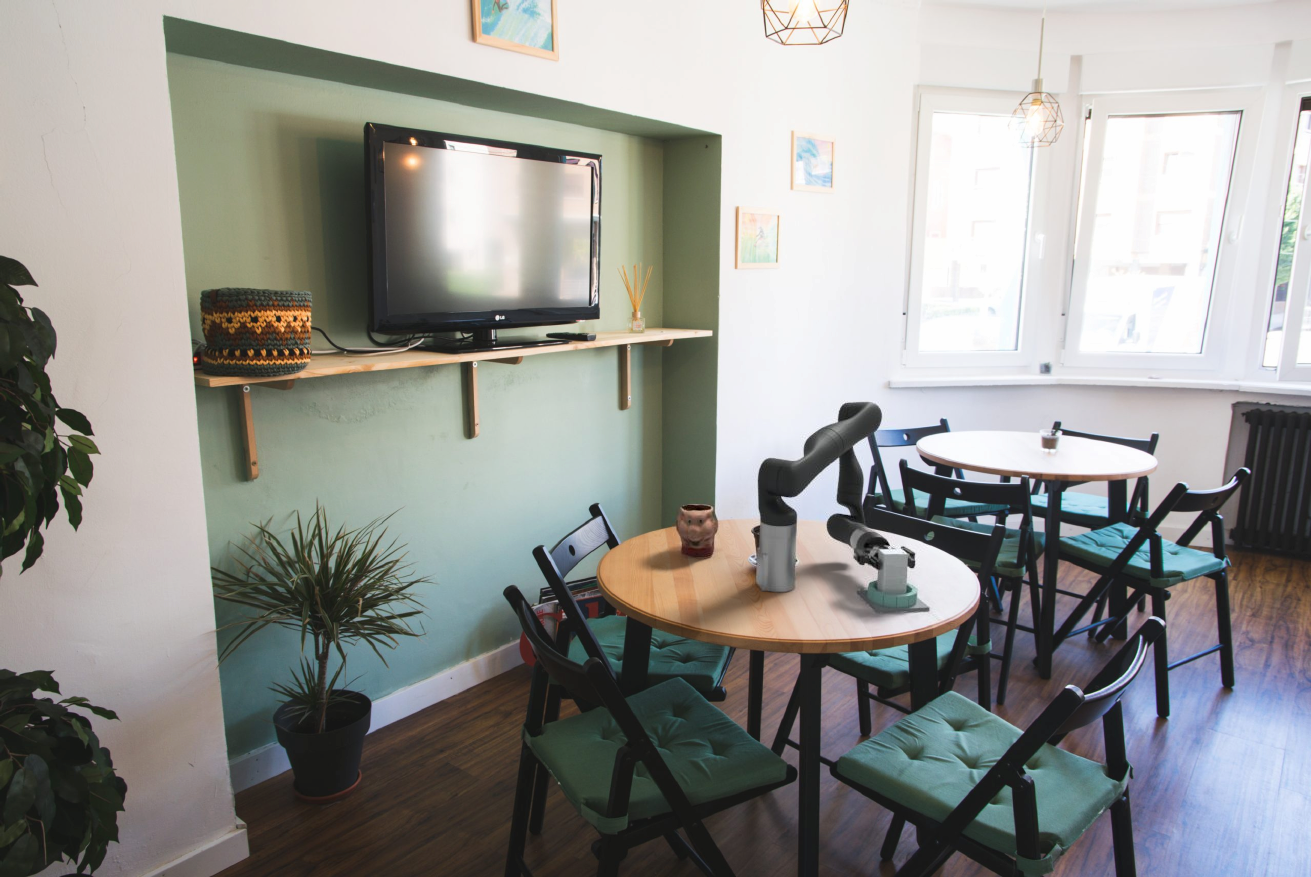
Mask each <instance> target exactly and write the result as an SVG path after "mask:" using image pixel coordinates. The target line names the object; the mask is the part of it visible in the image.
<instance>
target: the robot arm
mask: <svg viewBox="0 0 1311 877" xmlns="http://www.w3.org/2000/svg"><path fill="white" fill-rule="evenodd" d="M882 420H883V414H882V410H881V407H880V406H879V405H878V404H876V403H874V402H870V401H852V402H845V403H843V404H842V405H841V406H840V408H839V410H838V415H837V422H836V421H835V422H833V423H830V424H827V425H825V426H822V427H821V428H819V429H818V430H816V431H815V432H813V433H812V434H811V435H809V436H808V437H807V439H806V440H805V442H804V445H803V456H802V457H801V458H800V459H797V460H788V459H783V458H775V457H768V458H766V459H764V460H763V461H762V462H761V464H760V467H759V470H758V473H757V474H758V475H757V499H758V500H757V501H758V502H757V505H758V506H757V508H758V512H759V515H760V516H759V517H760V519H759V524H760V525H759V526H760V527H759V547H757V549H756V576H755V578H756V581H755V582H756V584H757V586H758V587H759V589H760V590H761V591H768V592H773V593H774V592H775V593H785V592H790V591H792V590H794V589H795V583H796V582H795V581H796V562H797V561H796V560H797V559H796V558H797V555H796V554H797V532H798V530H797V529H798V527H797V526H798V513H797V511H796V510H795V509H794V508H793V507H791V506H790V505H788V504H787V503H786V502H785V501H784V500H783V498H789V499H791V498H795V497H798V496H799V495H801V493H802V492H803V491H804V490H806V489H807V487H808V486H809V485H810V484H811V482H812V481H814V480H815V479H816V477H817V476H818V475H819V474H820V473H822V472H823V471H824V470H825V469H826V468H828V466H830V465H831V464H833V463H834V462H836V461H837V460H839V461H838V462H839V463H838V464H839V467H838V479H837V480H838V482H837V489H836V503H837V504H838V505H840V506H842V507H845V508H846V509H848V511H849V513H850V514H846V513H845V514H844V513H838V512H837V513H833V514H832V515H830V516H829V518H828V519H827V521H826V531H827V534H828V535H829V536H830V537H831V538H832V539H833V540H835V541H838V542H839V543H842V544H844V545H848V546H849V547H850V548H852V549H853V557H852V558H853V560H854V561H855V562H857V564H859V565H860V566H865V564H867V566H869V567H872V568H874V569H875V570H876V571H878V570H880V569H881V561H880V560H878V553H879V549H897V548H896V547H892V546H891V545H890V543H889V541H888V539H887V538H886V537H884V536H883V535H881V533H880V534H879V532H877V531H875V530H873V529H872V528H869V527H868V526H867V525H866V519H865V515H864V507H863V492H864V482H865V478H864V473H863V472H864V471H863V469H862V467H861V465H860V462H859V460H858V458H857V456H856V453H855V450H854V447H855V445H856V444H858V443H859V442H861V441H862V440H865V439H866V438H868V437H869V436H872V435H873V434H875V433H876V432H877V431H878V429H879V428H880V426H881V424H882ZM900 549H902V550H904V551H905V552H906V553H907V554H908V565H907V568H909V569H915V567H916V552H915V551H913V550H911V549H910V548H908V547H906V546H904V545H903V546H900Z"/></svg>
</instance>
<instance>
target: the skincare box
mask: <svg viewBox="0 0 1311 877" xmlns="http://www.w3.org/2000/svg"><path fill="white" fill-rule="evenodd" d="M878 560H880V561H881V569H880V570H877V579H876V580H877V590H878V591H881V592H883V593H887V594H895V595H899V594H906V585H907V583H908V582H907V581H908V579H907V578H908V566H907V565H908V554H907V553H906V552H905V551H904V550H902V549H901V548H896V549H879V553H878Z"/></svg>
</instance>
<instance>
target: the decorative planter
mask: <svg viewBox="0 0 1311 877" xmlns="http://www.w3.org/2000/svg"><path fill="white" fill-rule="evenodd" d="M714 509H715V508H714V507H713V506H711V505H708V504H703V503H701V504H700V503H698V504H696V503H689V504H684V505H680V508H679V510H678V511H679V514H678V516H677V519H676V522H675V523H676V526H675V527H676V528H675V529H676V532H677V534H678V535H679V537H680V542H681V548H680V549H681V550H680V551H681V552H680V553H681V555H682V556H685V557H686V558H693V559H694V558H695V559H705V558H706V559H707V558H710V557H712V556H713V555H714V552H715V537H716V534H717V533H718V530H719V520H718V517H717V516H716V513H715V510H714Z"/></svg>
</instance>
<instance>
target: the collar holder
mask: <svg viewBox="0 0 1311 877" xmlns="http://www.w3.org/2000/svg"><path fill="white" fill-rule="evenodd" d="M918 590H919V589H918V588H917V587H916V586H915V585H914V584H911V583H908V582H907V585H906V594H899V595H895V594H887V593H883V592H881V591H878V590H877V579H876V580H873V581H869V583H868V585H867V589H859V590H858V589H857V590H856V591H855V592H856V595H857V596H859V598H861V600H863V601H864V602H865V603H866V604H867V605H868V606H869V607H870V608H871V609H872V610H873V611H875V613H877V614H889V613H890V614H891V613H892V614H893V613H907V612H908V613H909V612H926V611H927V612H928V611H930V609H931V608H930V606H929V605H927V603H925V602H924V601H922V600H921V599H920V598H919V597H918Z"/></svg>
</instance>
